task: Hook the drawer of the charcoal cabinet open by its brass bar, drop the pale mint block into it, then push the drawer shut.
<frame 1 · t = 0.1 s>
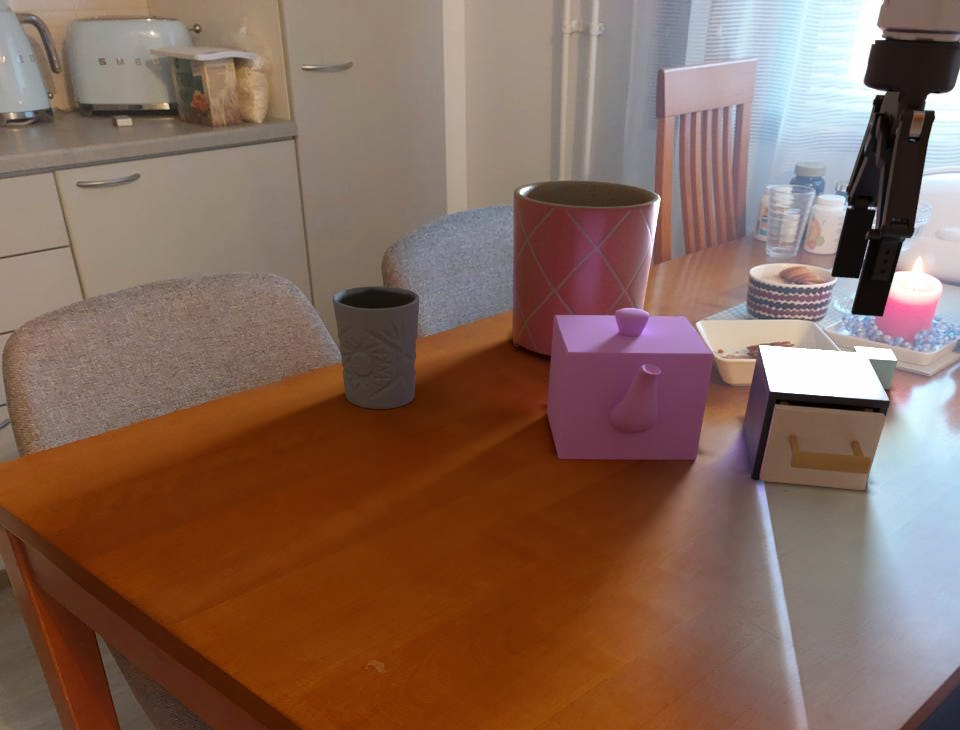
hand: (855, 295, 91), 18 cm above the table, tool pointing down, fingers open, 13 cm apart
teapot: (619, 441, 105), on the table
block: (866, 388, 121), on the table
drawer: (816, 435, 95), point 5 cm above the table, slide at 1.0 cm
gray embossed cup: (380, 397, 115), on the table
planter: (574, 347, 132), on the table
cabinet: (799, 455, 103), on the table
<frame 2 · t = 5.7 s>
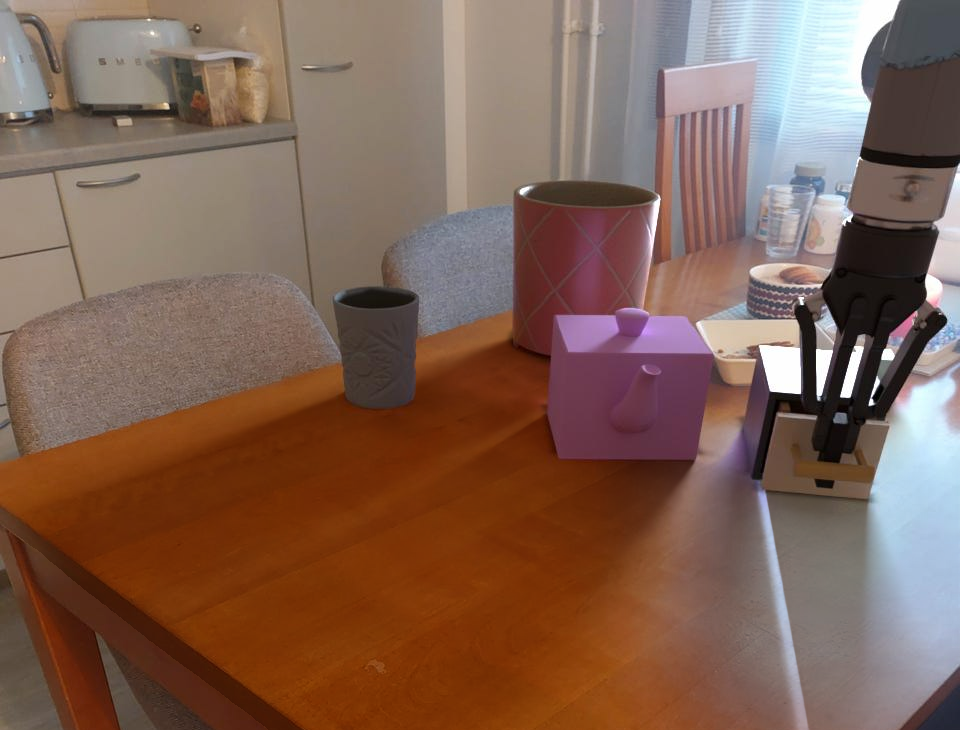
hand: (822, 481, 89), 4 cm above the table, tool pointing down, fingers closed
drawer: (818, 443, 94), point 5 cm above the table, slide at 3.1 cm, touching gripper
everything else where it was.
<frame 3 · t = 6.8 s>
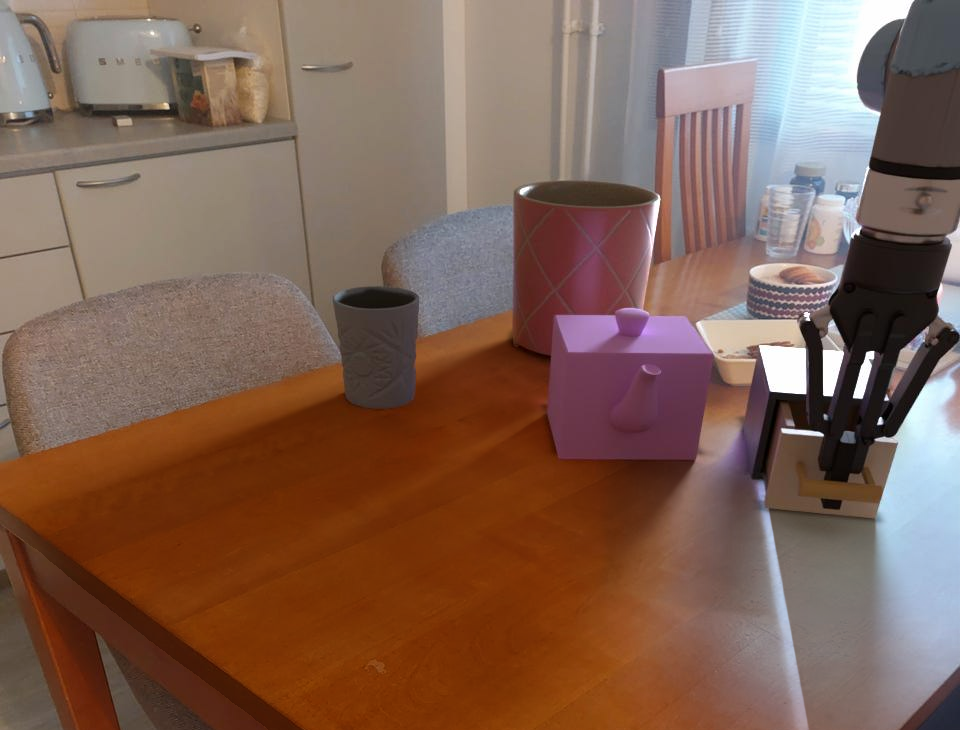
hand: (829, 502, 86), 3 cm above the table, tool pointing down, fingers closed
drawer: (824, 459, 90), point 5 cm above the table, slide at 7.2 cm
everything else where it was.
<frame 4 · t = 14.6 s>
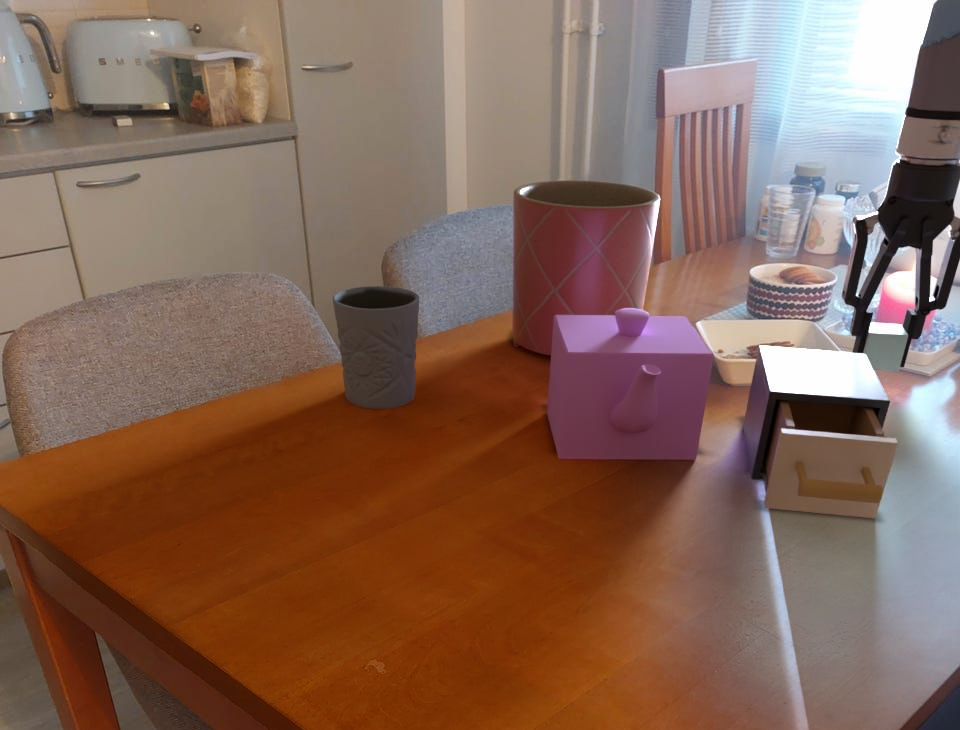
hand: (877, 362, 118), 4 cm above the table, tool pointing down, fingers closed on block, 5 cm apart
block: (876, 364, 119), point 3 cm above the table, touching gripper
everything else where it was.
when the fingers open (11 cm above the table, at t = 20.0 s): block drops 8 cm, resting on drawer.
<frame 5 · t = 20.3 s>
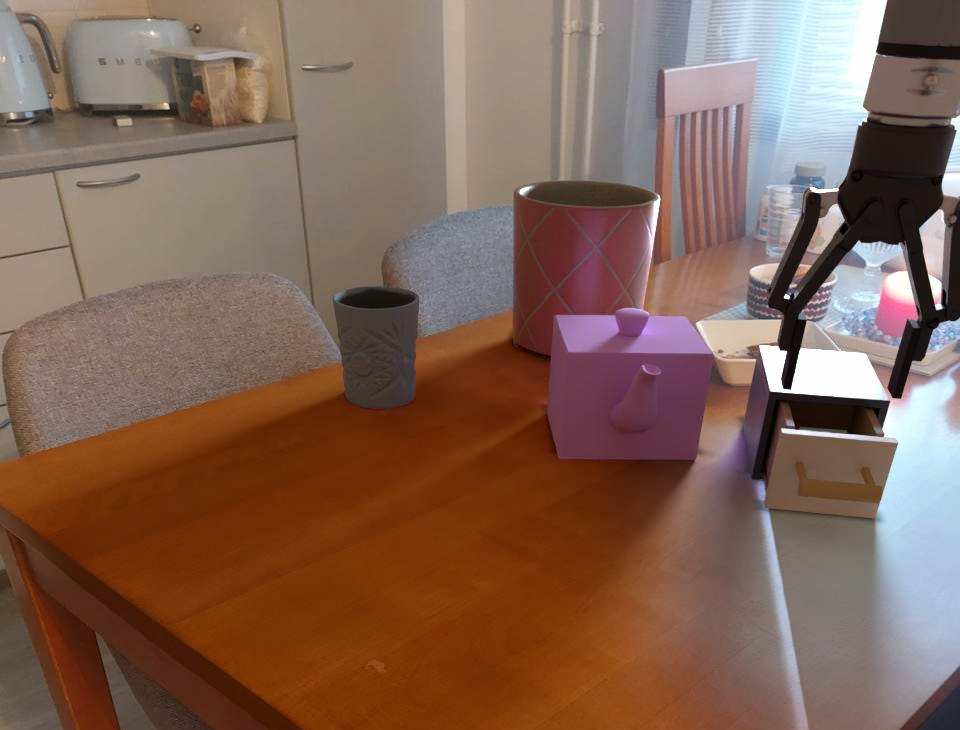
hand: (839, 389, 88), 12 cm above the table, tool pointing down, fingers open, 9 cm apart
block: (815, 480, 93), point 2 cm above the table, touching drawer
drawer: (824, 459, 90), point 5 cm above the table, slide at 7.2 cm, touching block
everything else where it was.
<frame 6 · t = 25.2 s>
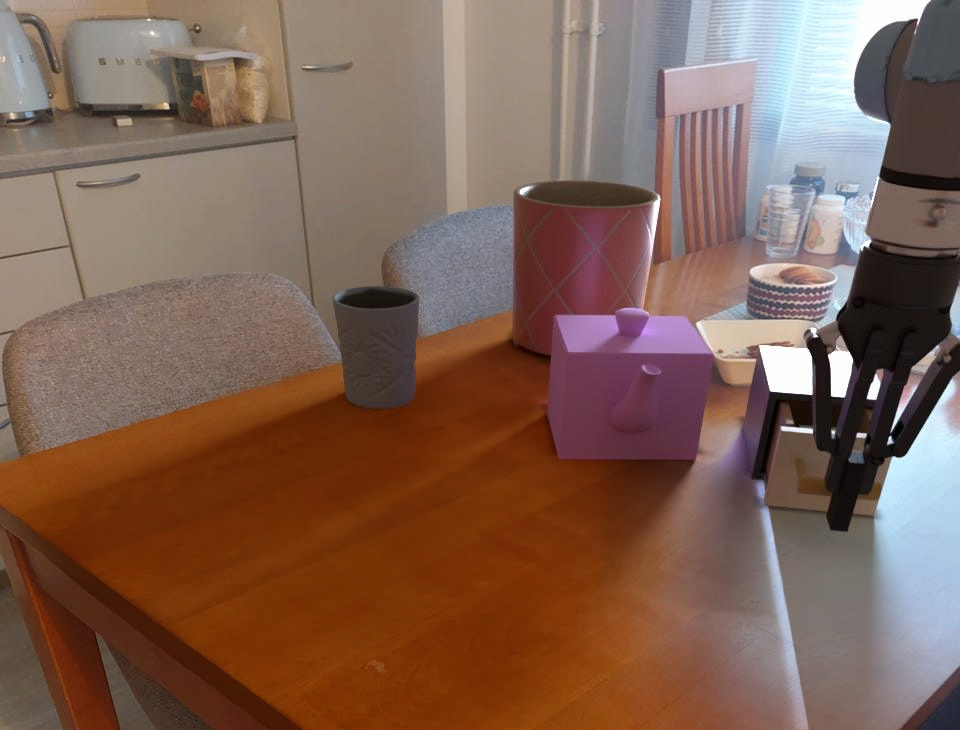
hand: (836, 523, 83), 3 cm above the table, tool pointing down, fingers closed
drawer: (823, 457, 91), point 5 cm above the table, slide at 6.6 cm, touching block
everything else where it was.
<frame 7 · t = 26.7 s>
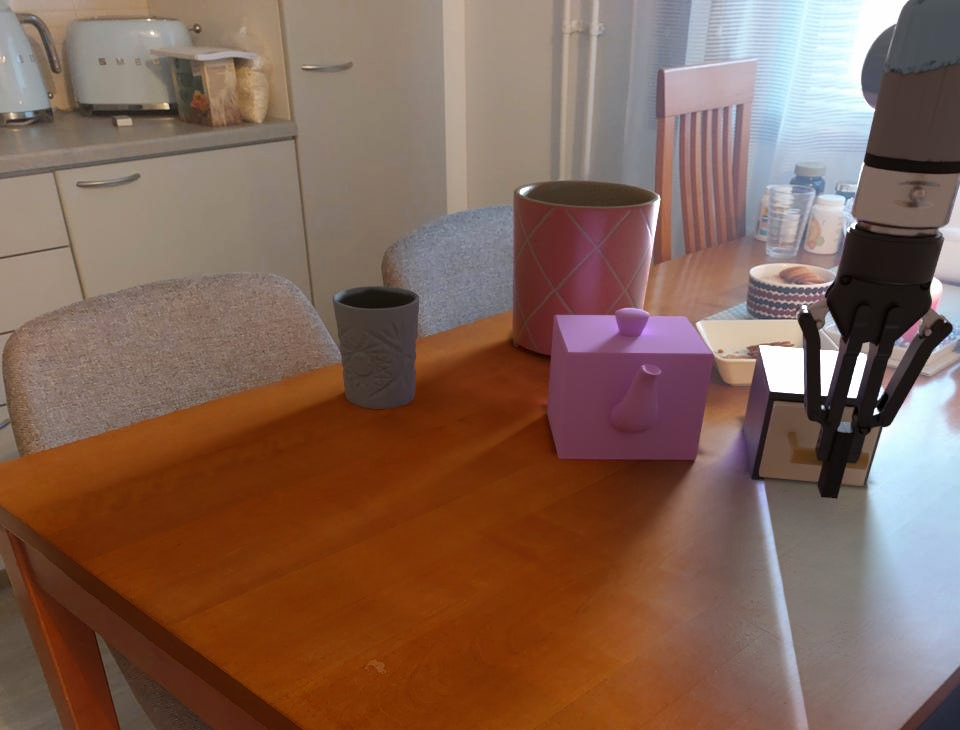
hand: (827, 491, 88), 3 cm above the table, tool pointing down, fingers closed
block: (807, 451, 99), point 2 cm above the table, touching drawer
drawer: (815, 431, 96), point 5 cm above the table, slide at 0.0 cm, touching block, cabinet, gripper
everything else where it was.
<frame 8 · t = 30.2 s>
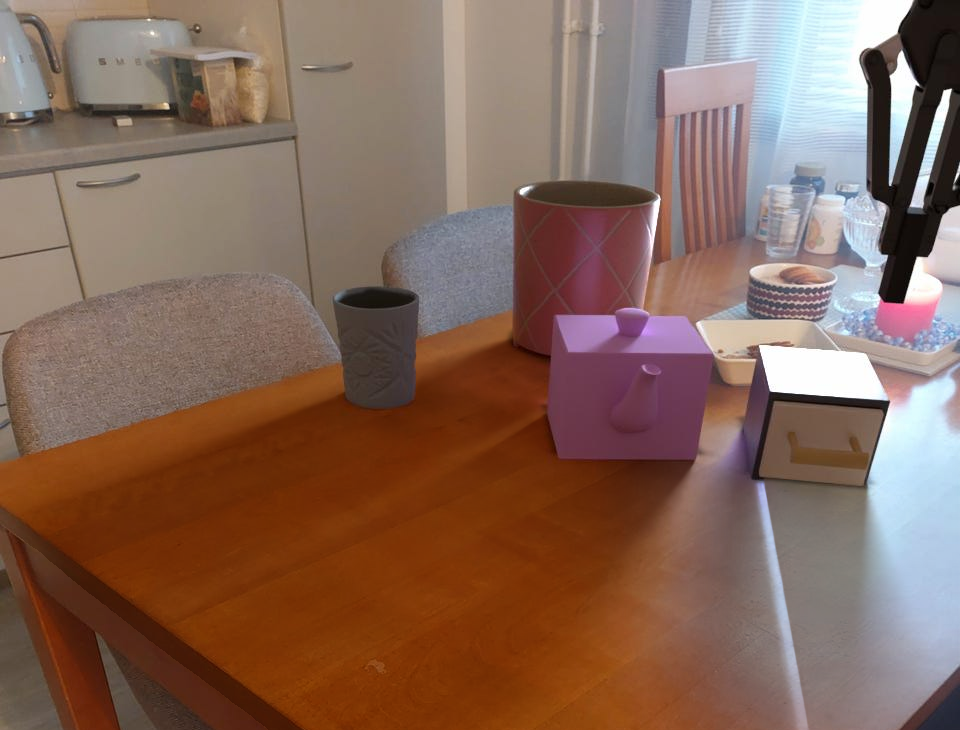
hand: (890, 298, 74), 22 cm above the table, tool pointing down, fingers closed
drawer: (815, 431, 96), point 5 cm above the table, slide at 0.0 cm, touching block, cabinet
everything else where it was.
at the end: drawer pulled out 7.2 cm at the most during the clip, back to where it started at the end; block inside the target area in the cabinet (2.8 cm from its centre), point 2.0 cm above the cabinet's base; drawer slide at 0.0 cm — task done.
